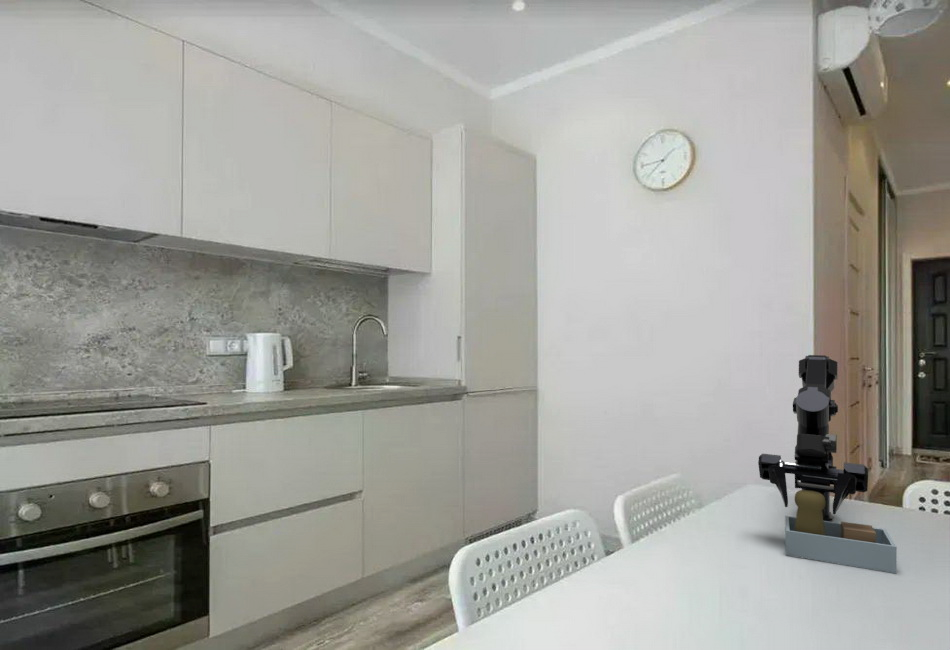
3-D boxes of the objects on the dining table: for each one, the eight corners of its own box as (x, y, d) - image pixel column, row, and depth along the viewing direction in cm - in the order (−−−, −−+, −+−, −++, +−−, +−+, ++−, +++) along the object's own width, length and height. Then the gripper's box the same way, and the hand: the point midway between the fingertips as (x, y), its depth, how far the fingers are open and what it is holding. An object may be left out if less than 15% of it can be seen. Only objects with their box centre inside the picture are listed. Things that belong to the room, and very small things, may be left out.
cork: (809, 542, 118) (809, 486, 118) (835, 553, 112) (835, 494, 112) (784, 544, 116) (785, 488, 116) (809, 555, 110) (810, 495, 111)
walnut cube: (840, 547, 115) (840, 521, 115) (871, 552, 113) (871, 525, 113) (843, 555, 111) (843, 528, 111) (875, 560, 109) (875, 533, 109)
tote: (785, 538, 122) (785, 515, 122) (885, 553, 114) (885, 529, 114) (785, 555, 112) (786, 530, 112) (896, 573, 104) (896, 547, 104)
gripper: (759, 414, 123) (752, 478, 113) (868, 422, 113) (870, 493, 103) (763, 446, 129) (757, 509, 119) (866, 457, 119) (868, 527, 110)
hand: (809, 509), depth 113 cm, fingers open, 8 cm apart
